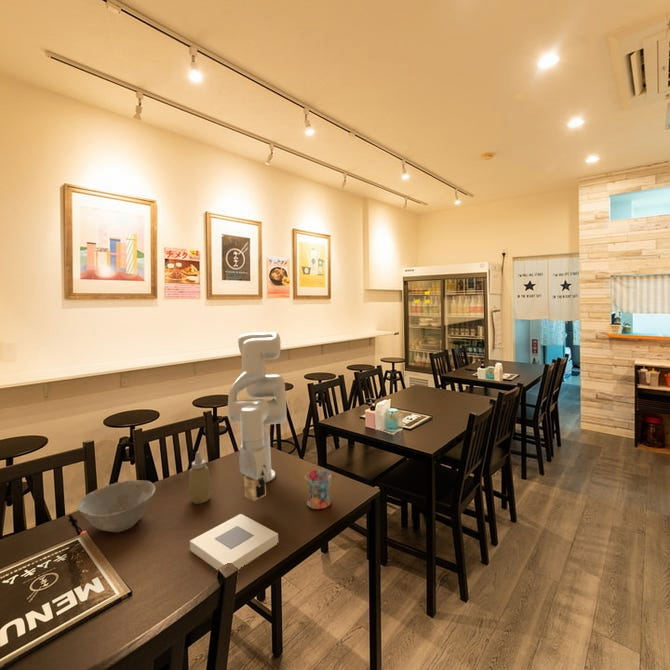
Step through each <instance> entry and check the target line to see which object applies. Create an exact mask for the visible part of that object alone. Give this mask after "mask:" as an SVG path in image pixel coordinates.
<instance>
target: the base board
mask: <svg viewBox="0 0 670 670" xmlns="http://www.w3.org/2000/svg"><path fill="white" fill-rule="evenodd" d="M277 543H278V544H279V533H278V532H275V530H272V529H270V528H268V527H267V526H264V525H263V524H261V523H259V522H257V521H255V520H253V519H251V518H250V517H248V516H246V515H245V514H243V513H239V514H238V515H235V516H234V517H232V518H231V519H228V520H225V522H223V523H221V524H219V525H217V526H215V527H213V528H211V529H209V530H208V531H206V532H204V533H202V534H200V535H198V536H196V537H194V538H192V539H191V540H189V550H190V552H192V553H193V554H194V555H196V556H197V557H199V558H200V559H202V560H203V561H204V562H205V563H206V564H208V565H209V566H210V567H212V568H214V569H215V570H217V571H218V569H219V568H220V567H222V566H223V565H225V564H227V563H232V564H233V565H234V566H235V567H237V568H238V570H240V569H242V568H243V567H245V566H246V565H248V564H249V563H251V562H252V561H254V560H255V559H257V558H258V557H259V556H261V555H263V554H264V553H266V552H267V551H269V550H271V549H272V548H273V547H275V546H276V545H278V544H277ZM244 565H245V566H244ZM241 567H242V568H241Z"/></svg>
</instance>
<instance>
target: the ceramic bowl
mask: <svg viewBox="0 0 670 670" xmlns="http://www.w3.org/2000/svg"><path fill="white" fill-rule="evenodd" d="M155 491H156V485H155V484H154V483H152V482H151V481H150V480H144V479H143V480H139V479H138V480H137V479H132V480H131V479H130V480H124V481H118V482H114V483H111V484H109V485H105V486H104V487H103V486H102V487H100V488H97V489H94V491H91V492H88V493H87V494H86V495H85V496H84V497H82V499H80V501H78V504H77V510H78V511H79V513H80V514H81V515H82V516H83V517H84V518H85V520H87V522H88V523H89V524H90V525H92V526H93V527H94V528H95V529H97V530H100V531H103V532H109V533H122V532H124V531H127V530H129V529H131V528H133V527H134V526H135V525H136V524H137V522H139V520H140V519H141V518H142V517H143V516H144V513H145V511H146V510H147V508H148V506H149V503H150V502H151V499H152V498H153V496H154V494H155ZM121 531H122V532H121Z"/></svg>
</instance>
